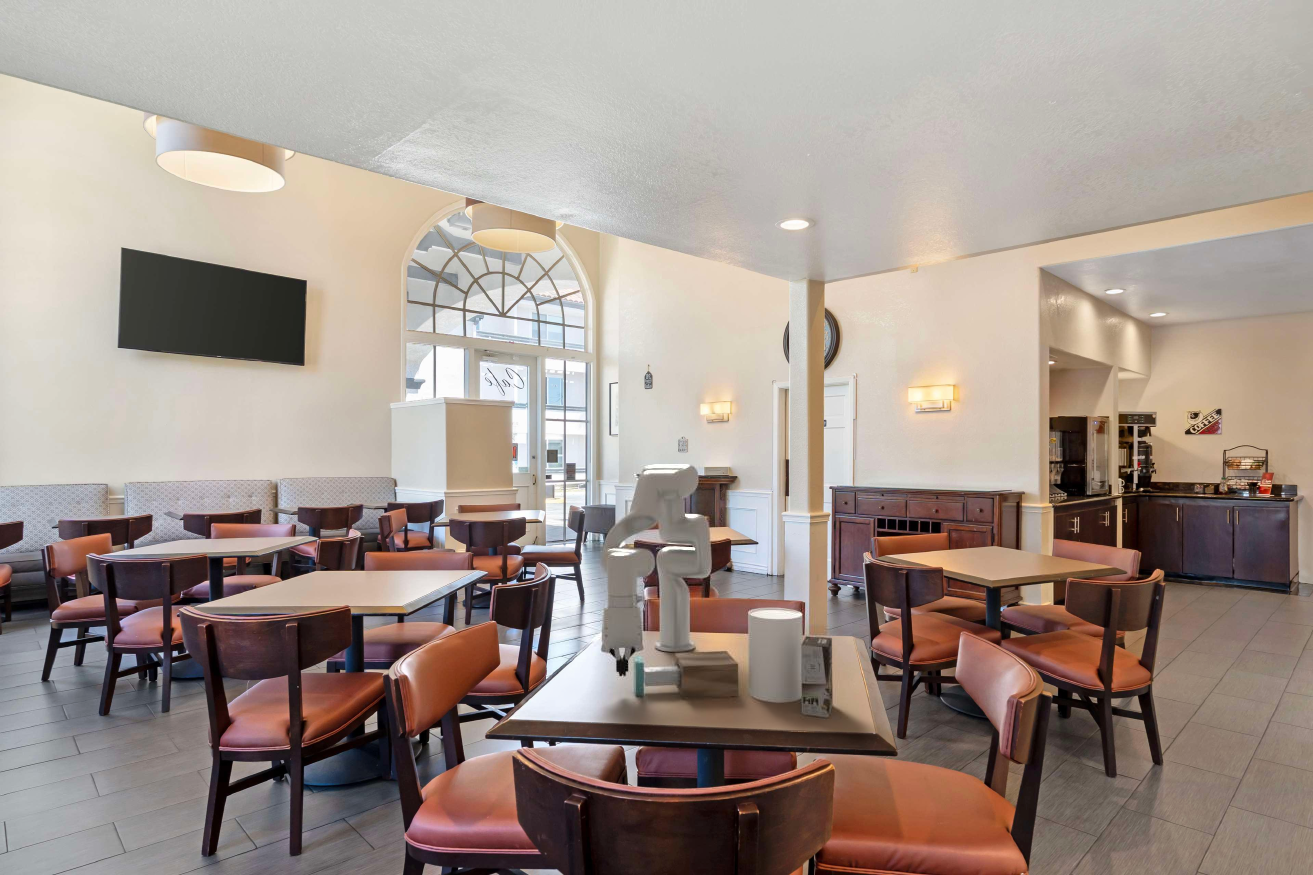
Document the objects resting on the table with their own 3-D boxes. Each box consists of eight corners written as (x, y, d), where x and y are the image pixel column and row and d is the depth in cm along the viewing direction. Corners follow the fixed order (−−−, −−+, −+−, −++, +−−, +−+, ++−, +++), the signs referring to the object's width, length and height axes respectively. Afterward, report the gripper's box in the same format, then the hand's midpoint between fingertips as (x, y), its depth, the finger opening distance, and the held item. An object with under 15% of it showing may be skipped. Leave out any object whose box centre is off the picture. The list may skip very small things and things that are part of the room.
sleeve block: (674, 683, 181) (674, 652, 181) (726, 681, 183) (726, 650, 183) (682, 698, 169) (682, 666, 169) (738, 696, 171) (738, 663, 171)
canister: (811, 700, 168) (810, 617, 169) (758, 703, 166) (757, 620, 166) (791, 683, 181) (790, 606, 182) (742, 686, 179) (741, 608, 180)
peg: (633, 688, 176) (633, 657, 176) (687, 686, 178) (687, 654, 178) (635, 695, 171) (635, 662, 171) (691, 692, 173) (691, 660, 173)
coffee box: (829, 718, 156) (828, 646, 157) (800, 714, 158) (800, 644, 159) (833, 705, 165) (832, 637, 165) (806, 702, 167) (805, 634, 167)
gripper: (649, 597, 179) (649, 668, 178) (592, 599, 177) (591, 671, 176) (653, 603, 171) (653, 677, 171) (593, 605, 169) (593, 680, 169)
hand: (622, 674), depth 173 cm, fingers closed
